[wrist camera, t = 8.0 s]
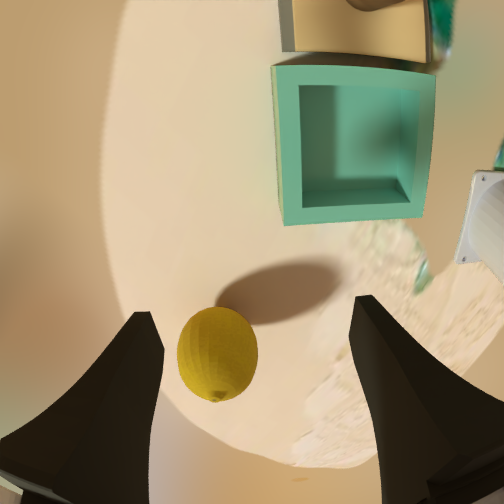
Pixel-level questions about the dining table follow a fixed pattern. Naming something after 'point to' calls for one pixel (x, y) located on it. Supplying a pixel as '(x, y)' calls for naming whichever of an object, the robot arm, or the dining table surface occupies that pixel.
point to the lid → (361, 27)
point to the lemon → (217, 354)
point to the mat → (288, 27)
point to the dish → (351, 142)
